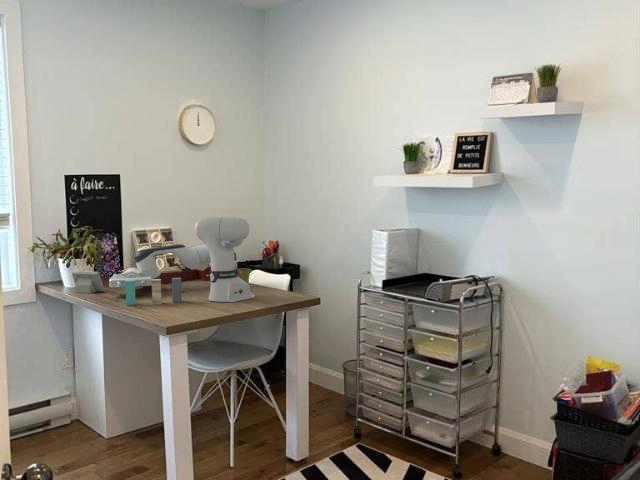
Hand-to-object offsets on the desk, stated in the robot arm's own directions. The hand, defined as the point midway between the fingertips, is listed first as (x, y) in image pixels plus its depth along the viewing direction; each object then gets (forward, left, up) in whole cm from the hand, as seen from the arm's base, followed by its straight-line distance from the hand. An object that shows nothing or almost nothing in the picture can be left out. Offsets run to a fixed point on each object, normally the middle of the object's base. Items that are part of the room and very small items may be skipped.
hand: (130, 284), depth 294 cm
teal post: (+4, +11, -7) cm, 14 cm away
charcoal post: (-15, +19, -7) cm, 25 cm away
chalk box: (-56, -60, -7) cm, 82 cm away
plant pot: (-60, +2, -7) cm, 60 cm away
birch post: (-6, +17, -7) cm, 19 cm away
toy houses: (-37, -32, -7) cm, 49 cm away
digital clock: (+10, -33, -7) cm, 35 cm away
